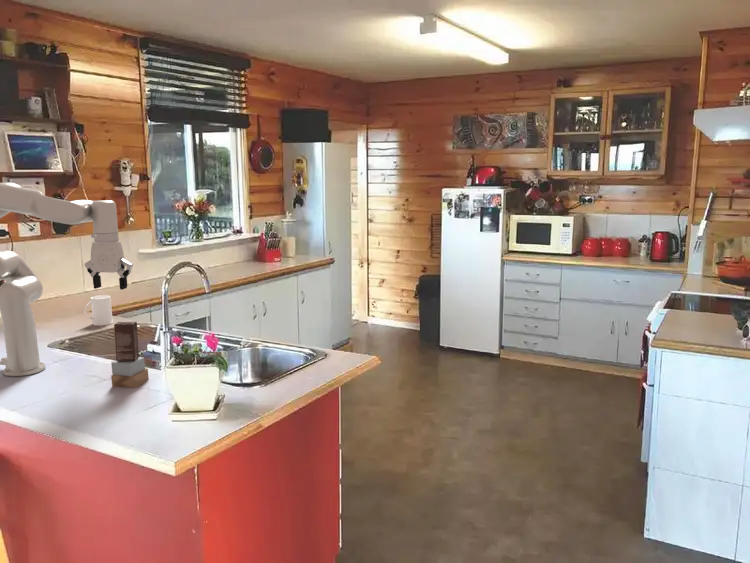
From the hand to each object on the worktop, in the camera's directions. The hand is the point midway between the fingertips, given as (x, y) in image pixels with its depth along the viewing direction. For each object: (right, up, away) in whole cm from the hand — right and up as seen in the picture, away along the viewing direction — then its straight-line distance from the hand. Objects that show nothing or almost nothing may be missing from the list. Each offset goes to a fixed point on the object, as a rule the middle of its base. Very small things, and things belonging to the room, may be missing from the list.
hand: (110, 288), depth 213 cm
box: (+10, -23, -11) cm, 27 cm away
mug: (-33, -17, +66) cm, 75 cm away
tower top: (+10, -27, -11) cm, 30 cm away
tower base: (+11, -31, -10) cm, 34 cm away
